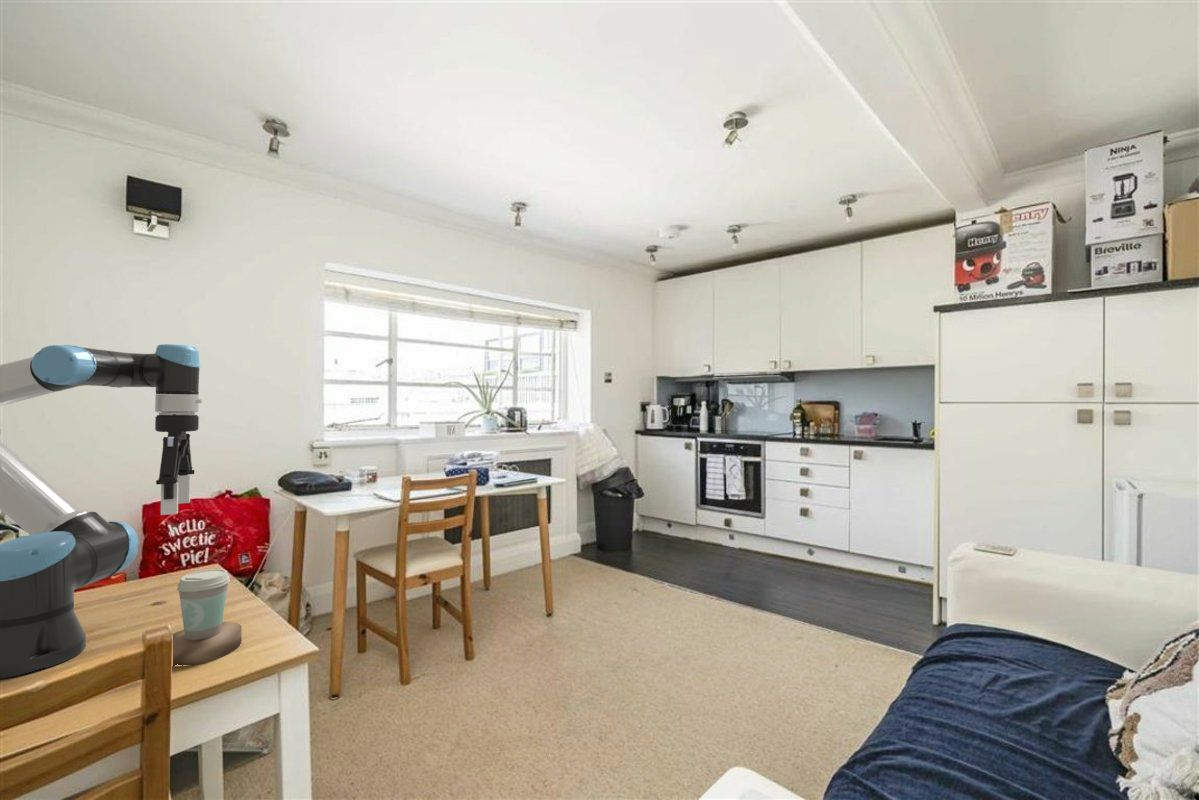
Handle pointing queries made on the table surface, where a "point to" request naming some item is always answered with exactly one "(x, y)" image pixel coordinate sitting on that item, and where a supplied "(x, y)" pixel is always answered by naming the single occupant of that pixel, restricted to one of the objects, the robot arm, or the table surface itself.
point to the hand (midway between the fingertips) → (176, 508)
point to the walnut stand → (206, 645)
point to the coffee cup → (203, 602)
